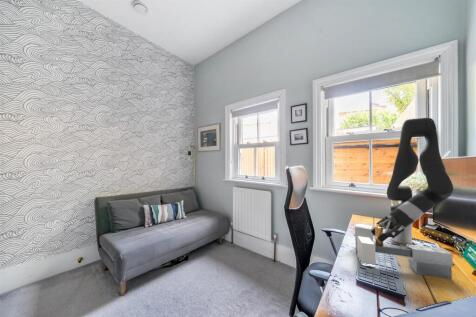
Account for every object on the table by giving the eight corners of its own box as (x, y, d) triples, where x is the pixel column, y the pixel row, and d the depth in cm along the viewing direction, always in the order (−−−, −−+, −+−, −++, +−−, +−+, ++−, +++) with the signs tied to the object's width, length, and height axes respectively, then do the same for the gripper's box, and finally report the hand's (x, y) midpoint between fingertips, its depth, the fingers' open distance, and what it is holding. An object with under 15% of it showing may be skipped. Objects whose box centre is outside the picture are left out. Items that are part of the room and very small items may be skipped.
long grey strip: (364, 248, 87) (363, 224, 87) (417, 255, 80) (417, 230, 80) (366, 250, 84) (365, 227, 84) (422, 258, 77) (421, 232, 77)
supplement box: (373, 249, 98) (373, 225, 98) (371, 254, 93) (371, 229, 93) (357, 245, 103) (357, 222, 103) (355, 249, 98) (354, 226, 98)
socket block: (357, 257, 90) (357, 236, 90) (369, 259, 88) (369, 237, 88) (362, 265, 82) (362, 242, 82) (375, 268, 80) (375, 244, 81)
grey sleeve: (406, 265, 82) (405, 243, 82) (443, 271, 78) (442, 248, 78) (413, 273, 76) (413, 249, 77) (454, 280, 72) (453, 254, 72)
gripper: (391, 204, 88) (364, 225, 92) (406, 211, 75) (374, 235, 78) (405, 216, 86) (376, 237, 90) (423, 225, 73) (389, 250, 76)
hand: (375, 236), depth 84 cm, fingers open, 8 cm apart
